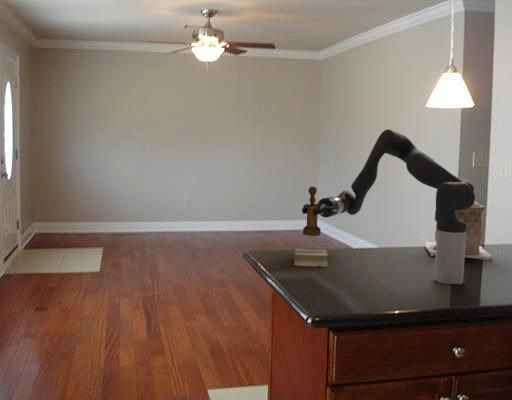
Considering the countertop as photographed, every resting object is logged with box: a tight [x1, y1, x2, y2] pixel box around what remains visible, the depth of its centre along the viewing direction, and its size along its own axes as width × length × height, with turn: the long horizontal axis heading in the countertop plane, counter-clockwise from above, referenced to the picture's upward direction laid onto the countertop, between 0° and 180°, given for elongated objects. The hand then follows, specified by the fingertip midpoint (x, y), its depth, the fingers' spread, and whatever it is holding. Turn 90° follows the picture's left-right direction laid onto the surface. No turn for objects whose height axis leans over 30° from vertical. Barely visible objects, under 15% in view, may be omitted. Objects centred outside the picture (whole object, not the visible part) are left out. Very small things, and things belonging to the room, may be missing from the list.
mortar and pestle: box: [302, 186, 322, 237], centre depth 216 cm, size 7×6×18 cm
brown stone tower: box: [424, 178, 493, 261], centre depth 241 cm, size 25×25×32 cm
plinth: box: [293, 247, 329, 268], centre depth 218 cm, size 12×12×4 cm
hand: (308, 211), depth 214 cm, fingers closed on mortar and pestle, 4 cm apart
